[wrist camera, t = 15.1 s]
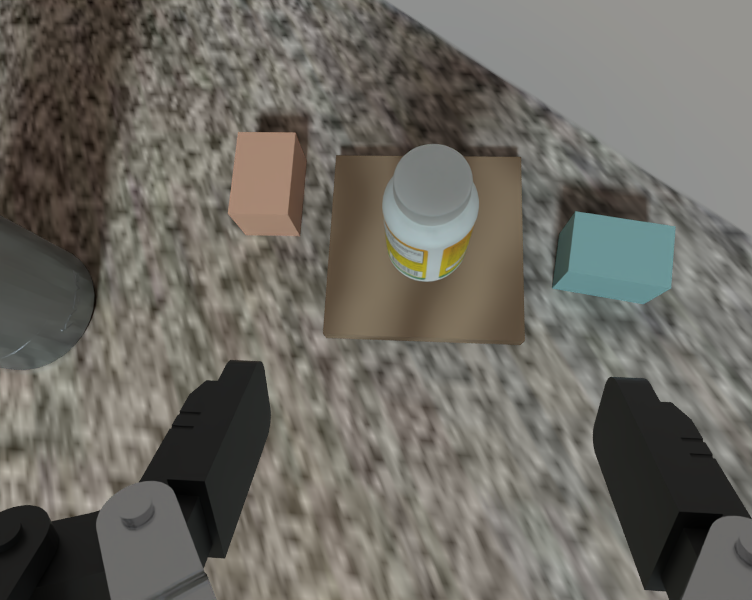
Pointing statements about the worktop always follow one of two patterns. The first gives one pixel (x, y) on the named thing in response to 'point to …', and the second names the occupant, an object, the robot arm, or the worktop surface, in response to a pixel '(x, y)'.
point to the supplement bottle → (429, 212)
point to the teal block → (614, 258)
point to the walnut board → (420, 298)
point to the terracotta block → (268, 183)
